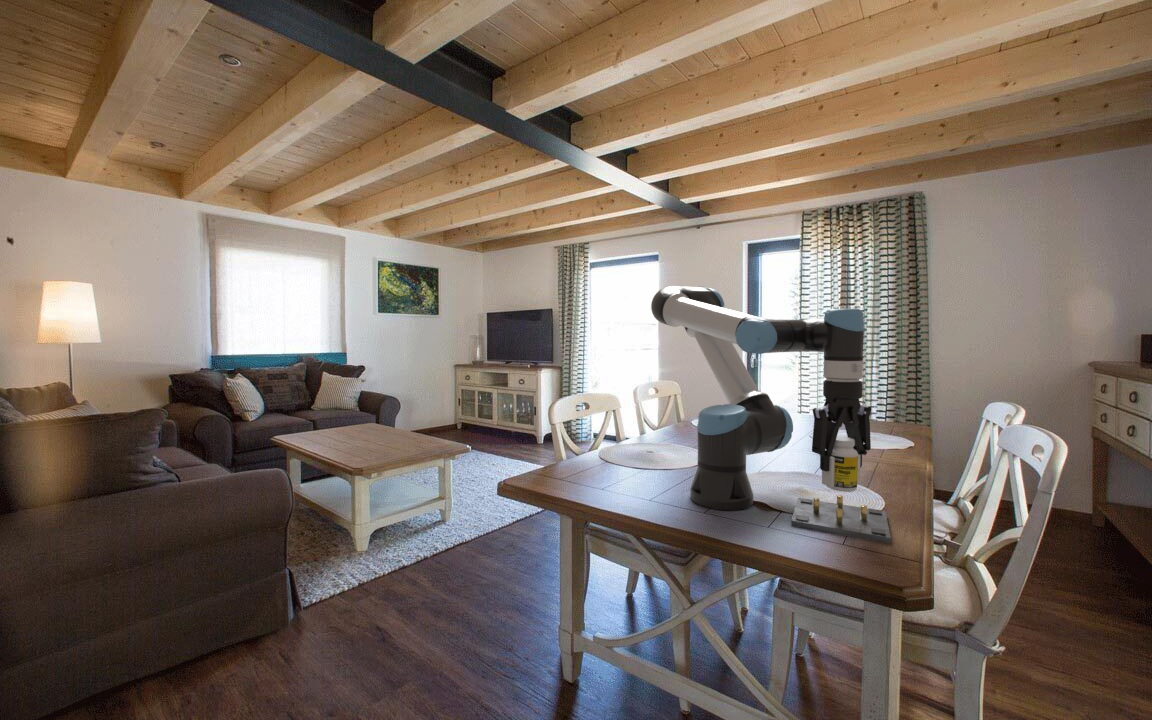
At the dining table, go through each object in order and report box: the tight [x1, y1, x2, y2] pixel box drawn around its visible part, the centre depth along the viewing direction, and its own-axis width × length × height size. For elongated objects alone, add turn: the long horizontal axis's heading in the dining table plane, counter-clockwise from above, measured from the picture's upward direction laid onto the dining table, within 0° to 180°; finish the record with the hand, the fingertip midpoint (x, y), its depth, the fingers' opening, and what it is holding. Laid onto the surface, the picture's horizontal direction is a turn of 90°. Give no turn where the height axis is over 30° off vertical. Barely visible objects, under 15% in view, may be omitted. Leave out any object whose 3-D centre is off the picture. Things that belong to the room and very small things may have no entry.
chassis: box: [790, 494, 892, 545], centre depth 105 cm, size 18×16×4 cm
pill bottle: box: [825, 435, 858, 493], centre depth 104 cm, size 6×6×11 cm
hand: (840, 483), depth 104 cm, fingers closed on pill bottle, 6 cm apart
